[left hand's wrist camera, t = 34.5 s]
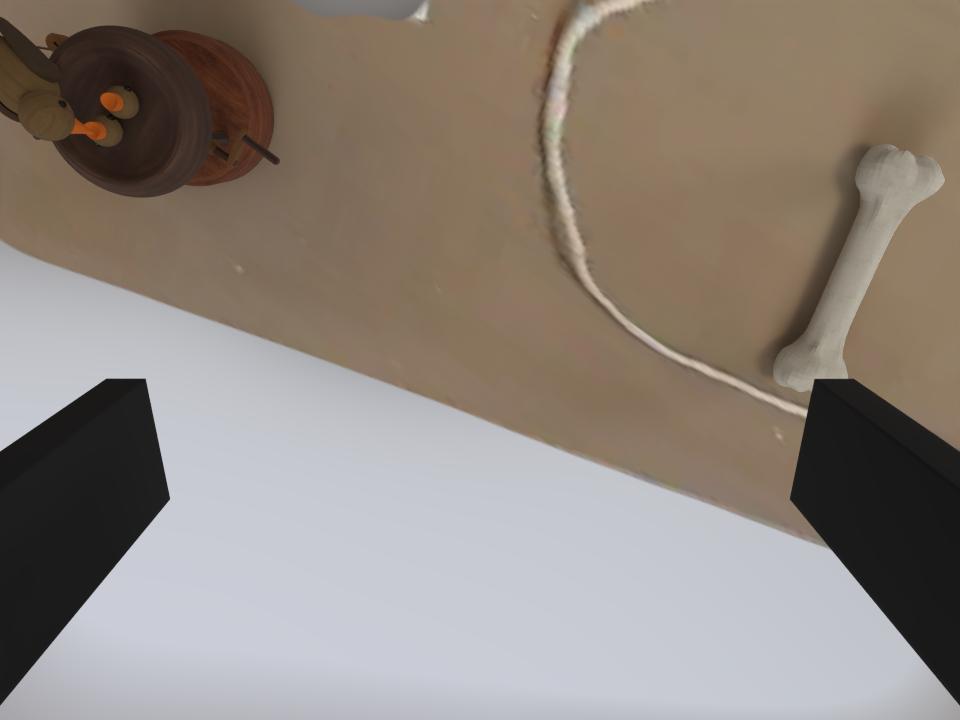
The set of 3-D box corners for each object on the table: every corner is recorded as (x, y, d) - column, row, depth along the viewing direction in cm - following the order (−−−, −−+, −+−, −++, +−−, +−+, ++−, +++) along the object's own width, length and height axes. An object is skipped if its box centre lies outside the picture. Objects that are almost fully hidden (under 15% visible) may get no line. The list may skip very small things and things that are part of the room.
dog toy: (820, 387, 56) (851, 411, 52) (756, 373, 56) (782, 396, 51) (925, 157, 49) (972, 160, 45) (854, 138, 49) (894, 140, 44)
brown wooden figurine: (95, 137, 49) (-139, 111, 29) (145, -2, 46) (-75, -128, 27) (278, 232, 51) (172, 265, 32) (335, 105, 49) (257, 59, 30)
